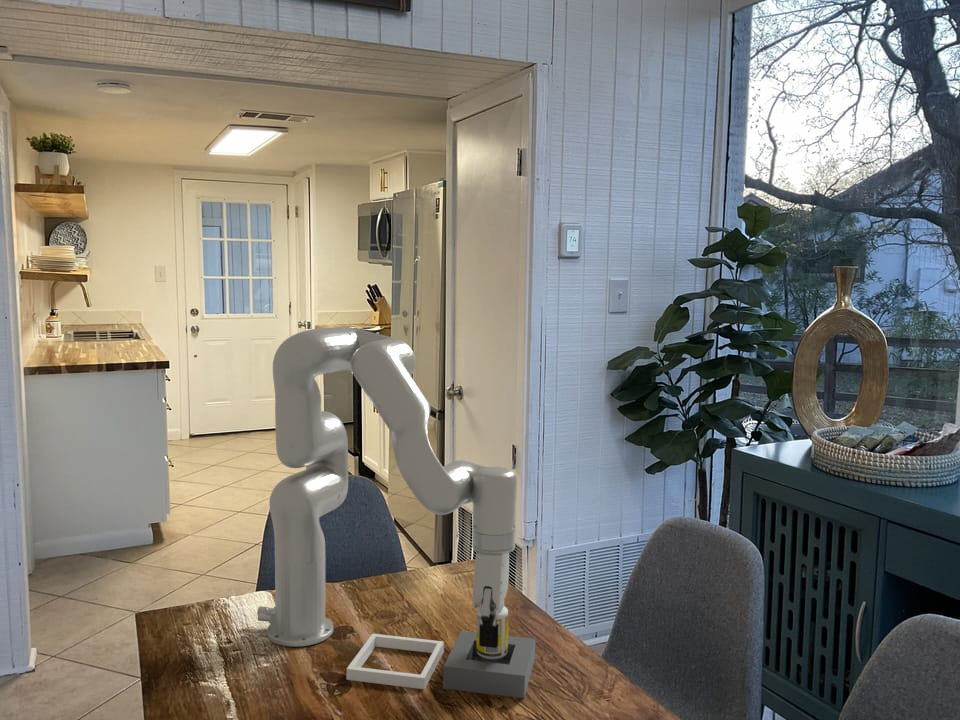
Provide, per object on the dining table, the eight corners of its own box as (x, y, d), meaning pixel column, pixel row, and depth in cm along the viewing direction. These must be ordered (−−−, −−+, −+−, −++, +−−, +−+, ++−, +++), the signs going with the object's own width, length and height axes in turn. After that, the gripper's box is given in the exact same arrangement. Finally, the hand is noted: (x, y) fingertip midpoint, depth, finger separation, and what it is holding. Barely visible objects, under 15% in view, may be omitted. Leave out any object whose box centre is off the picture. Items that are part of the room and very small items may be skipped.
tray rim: (346, 679, 140) (346, 668, 140) (372, 643, 154) (372, 633, 154) (424, 689, 138) (424, 678, 137) (443, 651, 151) (444, 641, 151)
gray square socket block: (443, 688, 138) (443, 666, 137) (460, 651, 152) (461, 630, 151) (524, 698, 135) (524, 675, 135) (534, 659, 149) (535, 638, 149)
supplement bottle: (494, 643, 147) (495, 589, 146) (513, 655, 142) (515, 599, 141) (469, 651, 144) (470, 596, 142) (488, 664, 139) (490, 607, 138)
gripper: (482, 522, 150) (480, 616, 152) (462, 553, 133) (460, 658, 135) (522, 525, 148) (519, 620, 150) (507, 557, 132) (505, 663, 134)
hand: (491, 637), depth 143 cm, fingers closed on supplement bottle, 5 cm apart
